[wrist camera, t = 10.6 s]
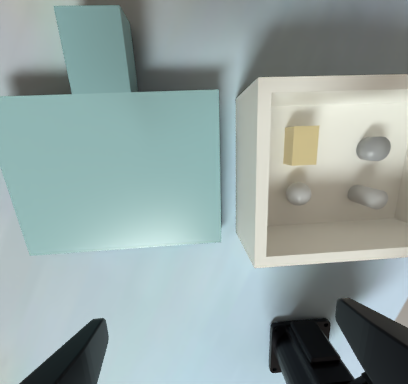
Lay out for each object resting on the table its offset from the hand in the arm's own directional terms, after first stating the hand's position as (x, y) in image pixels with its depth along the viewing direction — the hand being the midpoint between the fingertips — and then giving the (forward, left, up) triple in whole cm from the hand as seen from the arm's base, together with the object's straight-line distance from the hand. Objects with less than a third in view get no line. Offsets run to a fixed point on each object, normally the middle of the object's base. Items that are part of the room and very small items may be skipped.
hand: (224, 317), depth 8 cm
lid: (+7, +7, -12) cm, 16 cm away
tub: (+4, -11, -12) cm, 17 cm away
